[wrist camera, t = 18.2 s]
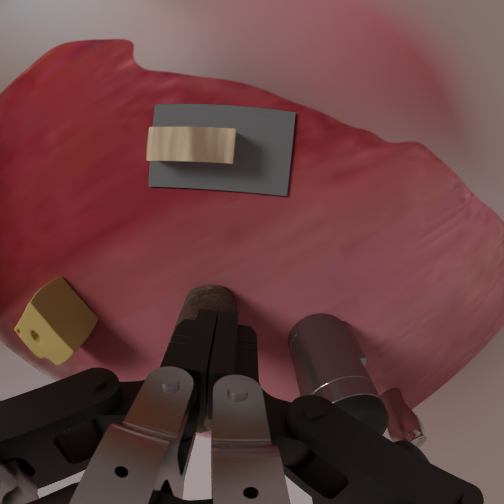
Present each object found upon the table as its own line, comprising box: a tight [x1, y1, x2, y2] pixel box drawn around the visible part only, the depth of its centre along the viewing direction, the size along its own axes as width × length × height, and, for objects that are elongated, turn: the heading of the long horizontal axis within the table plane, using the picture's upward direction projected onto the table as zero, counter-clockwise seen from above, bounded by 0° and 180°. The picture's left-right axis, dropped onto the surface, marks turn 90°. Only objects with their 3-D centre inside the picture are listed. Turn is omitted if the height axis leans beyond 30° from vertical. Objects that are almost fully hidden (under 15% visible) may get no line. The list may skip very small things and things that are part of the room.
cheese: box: [14, 277, 98, 366], centre depth 35 cm, size 10×11×10 cm
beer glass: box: [380, 388, 428, 448], centre depth 42 cm, size 7×7×15 cm
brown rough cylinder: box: [166, 285, 236, 433], centre depth 30 cm, size 8×7×20 cm
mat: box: [149, 104, 296, 196], centre depth 32 cm, size 18×11×1 cm, turn 85°
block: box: [146, 127, 237, 164], centre depth 30 cm, size 4×4×10 cm
